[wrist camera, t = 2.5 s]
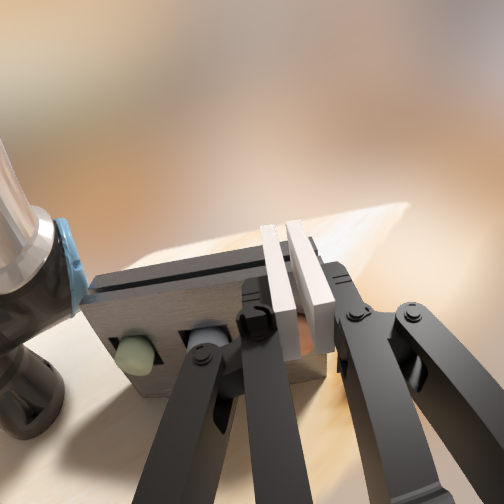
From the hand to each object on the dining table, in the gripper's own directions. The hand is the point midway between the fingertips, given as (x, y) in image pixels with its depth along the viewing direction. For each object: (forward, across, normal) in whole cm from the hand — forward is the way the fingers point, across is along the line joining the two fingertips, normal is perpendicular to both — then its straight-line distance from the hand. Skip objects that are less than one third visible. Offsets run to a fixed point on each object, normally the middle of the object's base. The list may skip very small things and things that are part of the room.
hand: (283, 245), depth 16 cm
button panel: (+8, -8, -22) cm, 25 cm away
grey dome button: (+5, -8, -15) cm, 18 cm away
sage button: (+5, -16, -15) cm, 23 cm away
